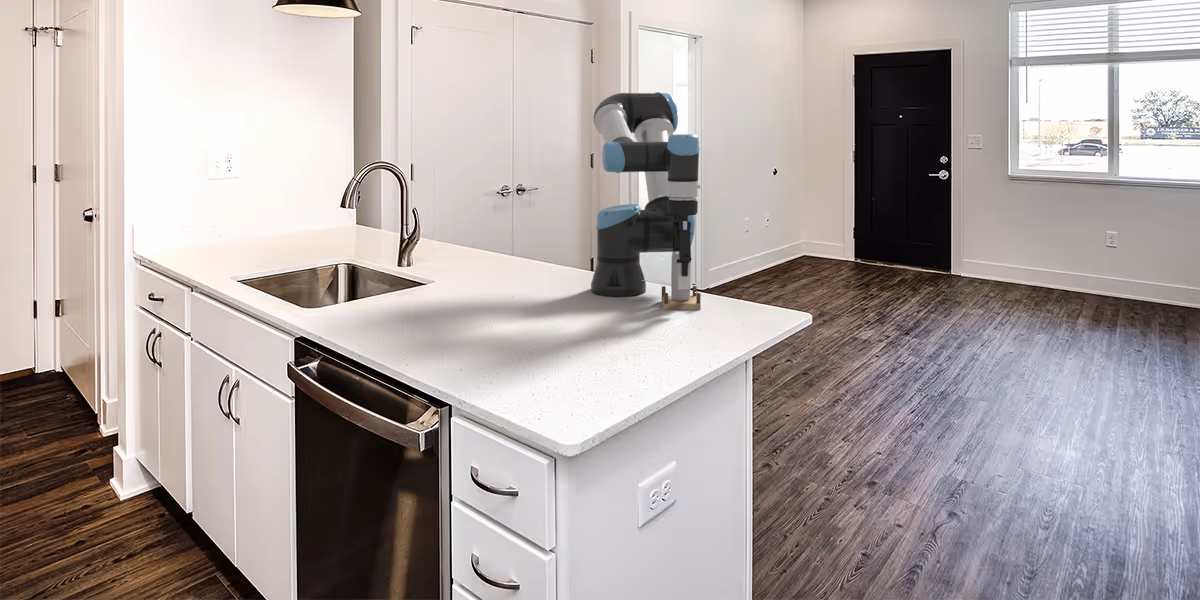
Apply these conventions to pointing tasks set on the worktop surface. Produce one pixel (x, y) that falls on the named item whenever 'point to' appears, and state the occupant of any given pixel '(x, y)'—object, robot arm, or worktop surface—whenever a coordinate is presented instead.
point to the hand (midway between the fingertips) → (680, 283)
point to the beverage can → (675, 292)
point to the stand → (681, 305)
